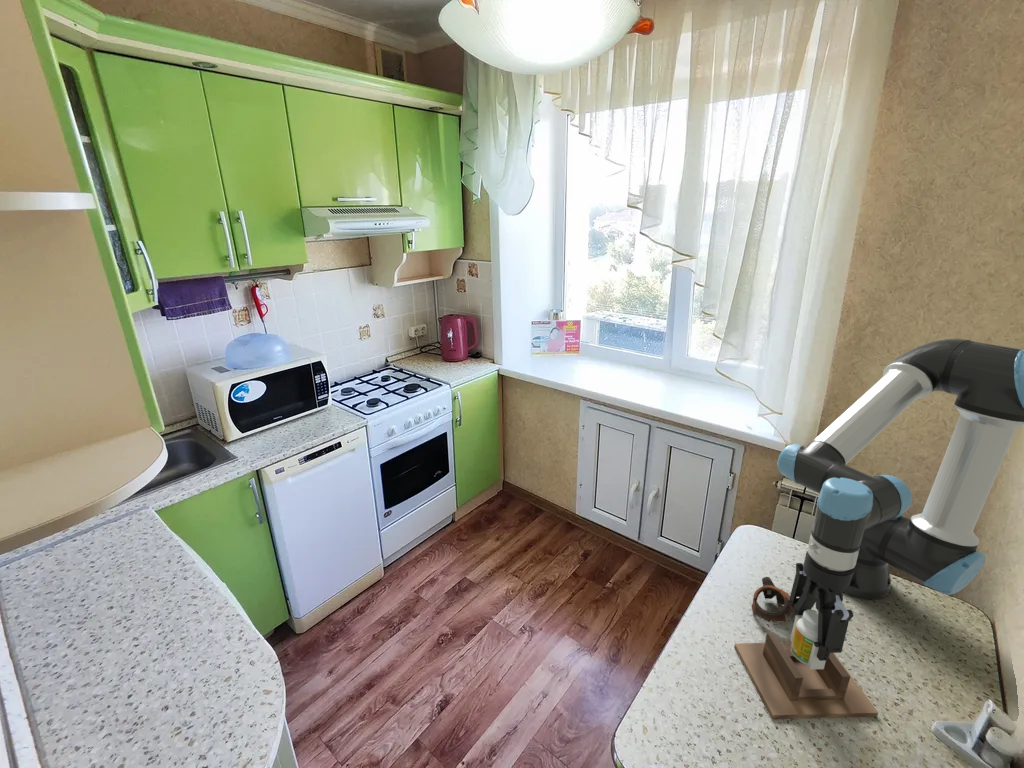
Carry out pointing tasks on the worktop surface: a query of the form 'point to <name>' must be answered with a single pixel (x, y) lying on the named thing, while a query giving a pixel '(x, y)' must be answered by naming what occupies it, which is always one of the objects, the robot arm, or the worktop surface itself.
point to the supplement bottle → (805, 636)
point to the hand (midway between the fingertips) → (806, 653)
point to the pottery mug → (769, 593)
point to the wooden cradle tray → (801, 683)
